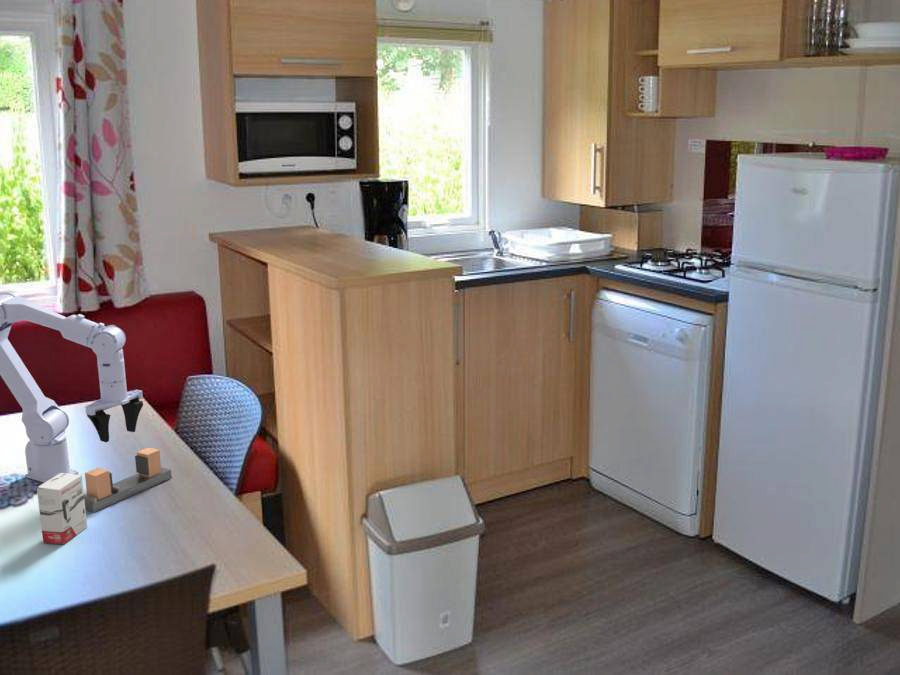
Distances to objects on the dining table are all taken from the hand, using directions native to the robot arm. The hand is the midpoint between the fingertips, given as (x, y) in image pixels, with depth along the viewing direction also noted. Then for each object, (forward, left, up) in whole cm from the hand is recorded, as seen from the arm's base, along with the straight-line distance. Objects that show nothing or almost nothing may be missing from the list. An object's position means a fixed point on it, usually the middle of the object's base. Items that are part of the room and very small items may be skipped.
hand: (118, 436), depth 219 cm
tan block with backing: (+9, -13, -8) cm, 18 cm away
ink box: (+15, -27, -10) cm, 33 cm away
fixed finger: (+9, +1, -8) cm, 12 cm away
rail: (+9, -6, -10) cm, 14 cm away
